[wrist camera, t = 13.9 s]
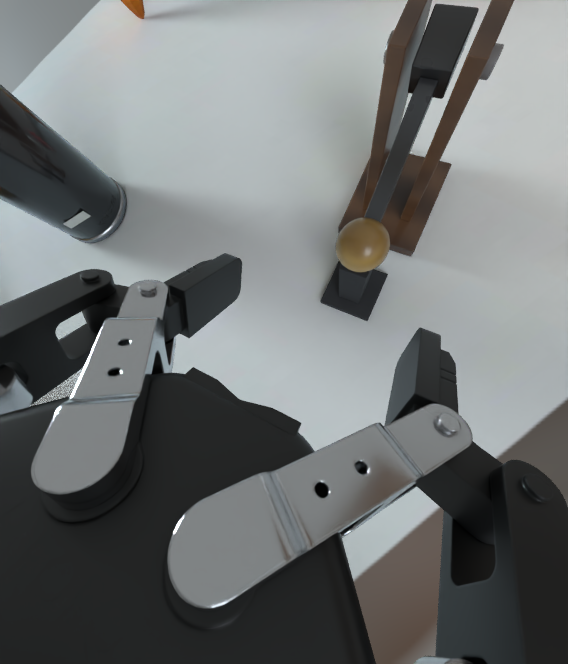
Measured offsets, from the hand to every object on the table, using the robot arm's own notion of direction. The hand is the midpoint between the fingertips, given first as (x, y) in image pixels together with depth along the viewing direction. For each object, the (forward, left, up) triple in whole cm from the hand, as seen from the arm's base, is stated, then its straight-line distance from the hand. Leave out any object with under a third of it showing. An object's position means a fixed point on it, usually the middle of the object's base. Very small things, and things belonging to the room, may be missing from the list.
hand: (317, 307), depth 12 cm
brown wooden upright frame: (0, +17, -17) cm, 24 cm away
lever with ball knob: (0, +12, -7) cm, 14 cm away
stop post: (0, +6, -17) cm, 18 cm away
